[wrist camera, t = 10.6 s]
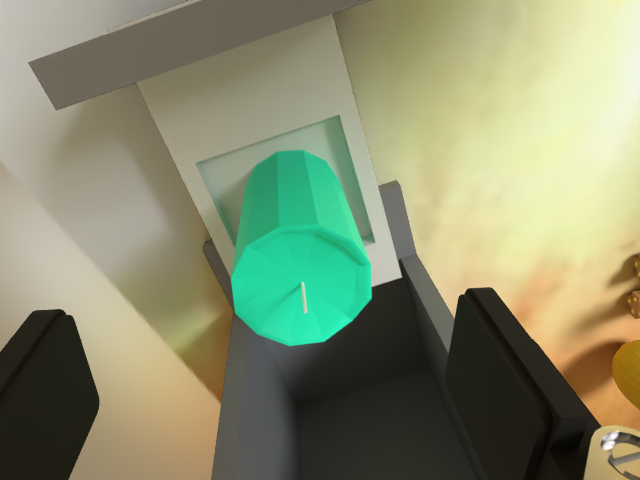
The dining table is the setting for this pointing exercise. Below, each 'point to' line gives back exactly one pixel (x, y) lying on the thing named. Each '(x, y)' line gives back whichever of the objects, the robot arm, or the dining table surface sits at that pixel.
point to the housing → (348, 388)
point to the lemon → (628, 371)
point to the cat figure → (635, 294)
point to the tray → (237, 102)
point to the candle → (298, 252)
